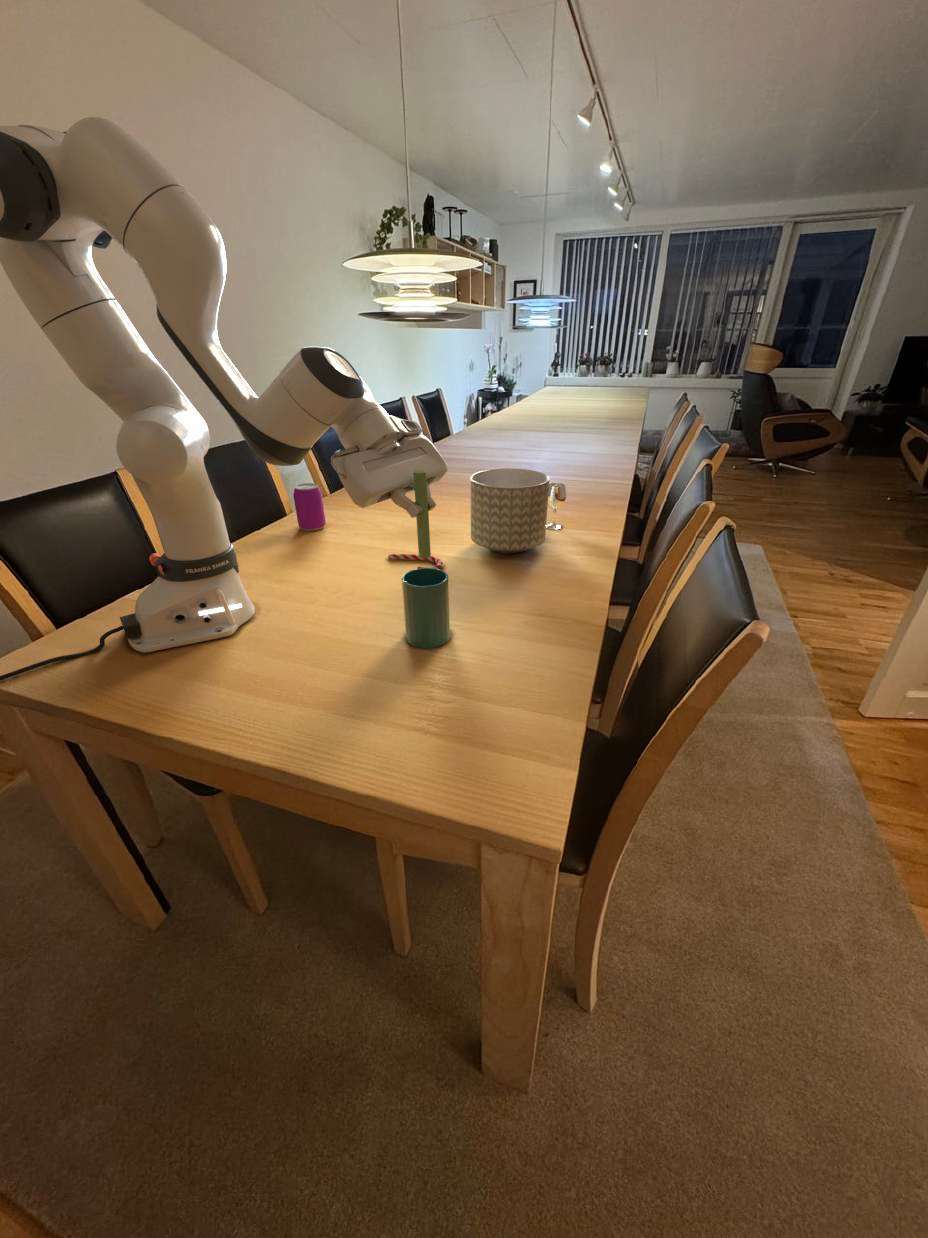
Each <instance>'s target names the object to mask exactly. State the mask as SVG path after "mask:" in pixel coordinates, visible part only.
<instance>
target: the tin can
mask: <svg viewBox="0 0 928 1238" xmlns="http://www.w3.org/2000/svg"><path fill="white" fill-rule="evenodd" d="M449 584H450V583H449V574H448V572H446V571H444V570H443V569H440V570H439V569H435V568H419V569H417V568H414V569H410V570H408V571H406V572H405V573H403V575H401V590H402V601H403V602H402V605H403V615H404V616H403V617H404V629H405V630H404V631H405V638H406V642H407V643H408V644H409V645H411V646H413V647H417V648H418V649H419V648H420V649H434V648H437V647H441V646H443V645H445V644H446V643H447V642H448V641H449V640H450V638H451V625H450V618H451V617H450V587H449V586H450V585H449Z"/></svg>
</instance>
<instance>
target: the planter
mask: <svg viewBox="0 0 928 1238" xmlns="http://www.w3.org/2000/svg"><path fill="white" fill-rule="evenodd" d="M549 484H550V476H548V474H546V473H544V472H541V471H537V470H534V469H526V468H508V467H507V468H491V469H485V470H481V471H477V472H475V473H473V474H472V475H471V476H470V539H471V541H472V542H473V543H474V544H476V545H478V546H480V547H483V548H485V549H487V550H490V551H492V552H495V553H499V554H506V555H507V554H511V555H512V554H517V553H518V554H519V553H521V552H525V551H527V550H530V549H533V548H536V547H538V546H540V545H542V544H543V543H544V542H545V540H546V535H547V534H546V532H547V528H546V525H547V519H548V507H549V506H548V492H549Z"/></svg>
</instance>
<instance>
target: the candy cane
mask: <svg viewBox="0 0 928 1238" xmlns="http://www.w3.org/2000/svg"><path fill="white" fill-rule="evenodd" d="M387 558H388V560H410V561H412V560H413V561H425V562H427V561H428V562H432V563H435V564H436V565H432V566H417V567H416V569H419V568H435V569H439V570H442V568H443V565H444V564H443V561H442V560H441V558H438V557H436V556H432V555H431V556H430V557H427V558H422V557H419V554H411V553H389V554H388V556H387Z"/></svg>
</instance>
